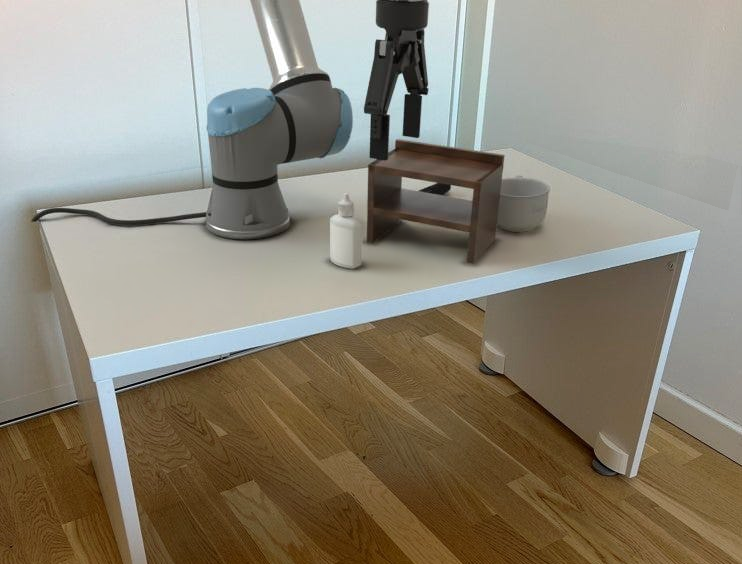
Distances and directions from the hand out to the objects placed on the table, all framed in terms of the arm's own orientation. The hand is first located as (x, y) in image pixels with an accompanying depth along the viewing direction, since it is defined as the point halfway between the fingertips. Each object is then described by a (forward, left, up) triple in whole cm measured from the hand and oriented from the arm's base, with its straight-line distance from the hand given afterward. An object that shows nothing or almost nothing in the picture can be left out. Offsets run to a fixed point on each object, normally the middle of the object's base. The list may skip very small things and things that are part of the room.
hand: (395, 147), depth 118 cm
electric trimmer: (-6, +30, -19) cm, 36 cm away
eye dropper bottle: (-6, -5, -19) cm, 21 cm away
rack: (+3, +11, -19) cm, 22 cm away
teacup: (+14, +27, -19) cm, 36 cm away
